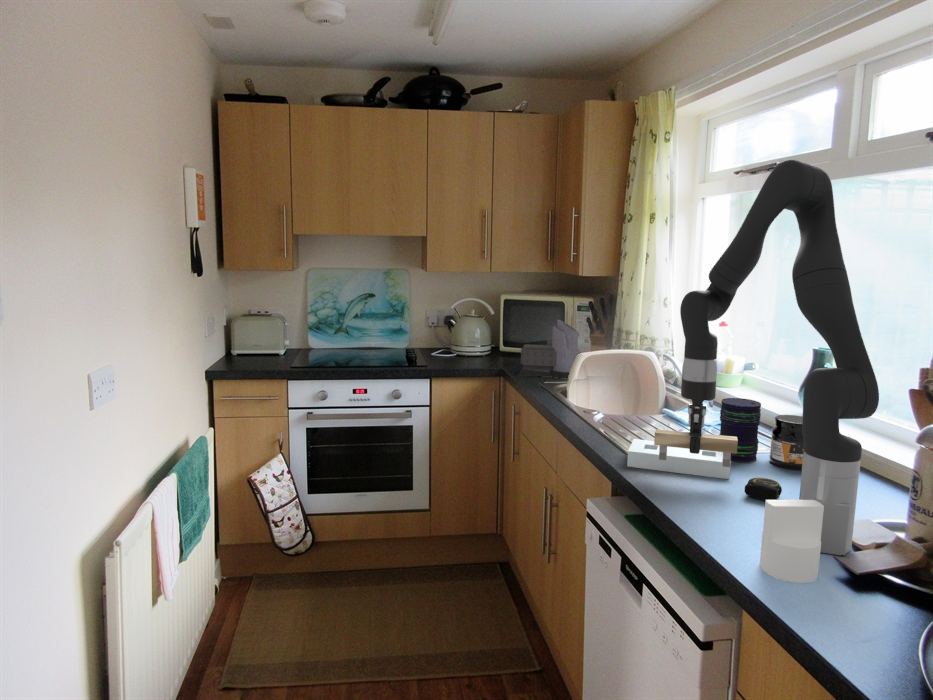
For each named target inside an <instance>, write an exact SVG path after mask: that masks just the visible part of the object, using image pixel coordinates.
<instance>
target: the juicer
mask: <svg viewBox="0 0 933 700" xmlns="http://www.w3.org/2000/svg"><path fill="white" fill-rule="evenodd" d="M556 324H557V325H554V326H552V339H551V340H552V342H551V345H550V344H549V345H548V344H527V343H525V344H523V347H521V349H520V365H522V369H521V370H520V371H519V373H518V374H517V376H518V375H526V376H552V377H558V378H566V379H567V378H568V375H569V371H570V368H571V366H572V364H573V362H574V360H575V358H576V356H577V355H578V354H580V353H582V351H581V350H578V342H579V341H578V340H579V339H578V338H579V337H580V332H579V330H577V329H576V328H574V327H573V326H572V325H570V324H568V323H566V322H565V321H562V320H560V319H557V323H556Z"/></svg>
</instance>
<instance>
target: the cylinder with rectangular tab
mask: <svg viewBox="0 0 933 700" xmlns="http://www.w3.org/2000/svg"><path fill="white" fill-rule="evenodd" d="M764 501H765V502H764V503H765V504H764V512H763V513H764V516H763V524H762V526H763V527H762V531H761V546H760V556H759V568H760V569H761V570H762V571H763V572H764V573H765V574H767V575H769V576H771V577H772V578H775V579H777V580H781V581H785V582H789V583H796V584H806V583H807V584H808V583H812V582H815V581H817V579H818V578H819V570H820V569H819V568H820V560H821V559H820V558H821V552H820V550H821V532H822V521H823V511H824V506H823V505H822V504H821V503H819V502H818V501H816V500H799V499H777V500H764Z"/></svg>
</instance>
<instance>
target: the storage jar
mask: <svg viewBox="0 0 933 700" xmlns="http://www.w3.org/2000/svg"><path fill="white" fill-rule="evenodd" d="M761 408H762V403H761V402H760V401H758V400H754V399H748V398H741V397H739V398H738V397H729V398H728V397H727V398H722V399H721V405H720V413H719V415H720V416H719V421H720V430H719V431H720V432H719V434H718V435H723V436H733V437H737V439H738V443H737V453H731V463H732V462H733V463H744V464H745V463H748V464H749V463H754V462H756V461H757V460H758V459H757V455H758V451H759V439H758V433H759V425H760V423H761V415H762V413H761V410H762V409H761Z"/></svg>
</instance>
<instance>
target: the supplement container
mask: <svg viewBox="0 0 933 700" xmlns="http://www.w3.org/2000/svg"><path fill="white" fill-rule="evenodd" d="M802 421H803V415H797V414H796V415H795V414H778V415H776V416H775V417H774V421H773V422H774V426H773V427H772V428H771V431H770V432H771V438H770V440H771V441H770V448H769V449H770V451H769V457H768V458H769V461H770V462H771V463H772V464H773V465H775V466H778V467H780V468H784V469H788V470H789V469H790V470H796V471H797V470H799V471H802V465H803V454H804V439H803V434H802Z"/></svg>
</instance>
